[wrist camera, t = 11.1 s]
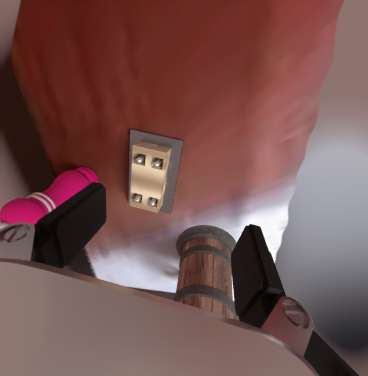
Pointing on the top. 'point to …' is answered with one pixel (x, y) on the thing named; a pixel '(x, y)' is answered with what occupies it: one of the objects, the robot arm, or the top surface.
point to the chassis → (173, 164)
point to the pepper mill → (46, 198)
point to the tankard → (206, 269)
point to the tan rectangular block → (148, 175)
